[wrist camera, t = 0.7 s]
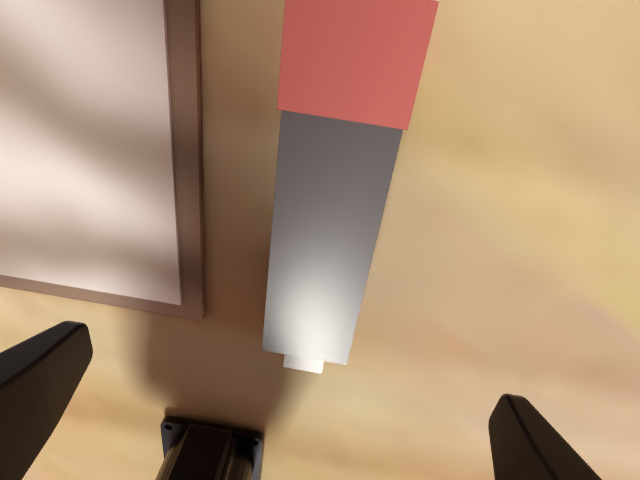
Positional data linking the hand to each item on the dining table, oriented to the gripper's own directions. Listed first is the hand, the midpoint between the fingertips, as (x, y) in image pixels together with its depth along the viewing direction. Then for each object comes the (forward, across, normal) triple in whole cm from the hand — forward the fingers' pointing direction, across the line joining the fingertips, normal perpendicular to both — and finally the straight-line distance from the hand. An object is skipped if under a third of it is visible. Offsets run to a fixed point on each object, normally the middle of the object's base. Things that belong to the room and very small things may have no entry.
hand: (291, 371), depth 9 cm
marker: (+10, 0, 0) cm, 10 cm away
